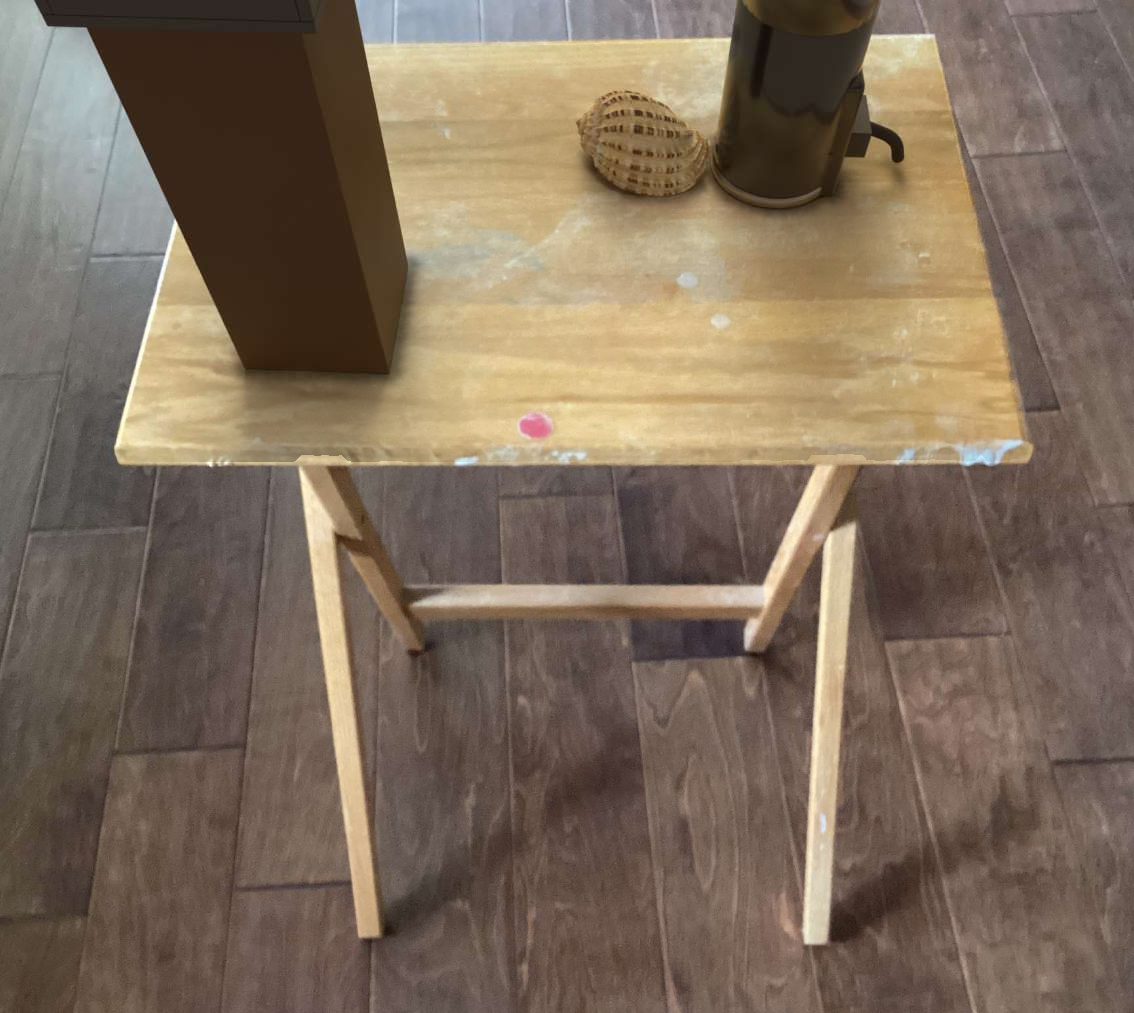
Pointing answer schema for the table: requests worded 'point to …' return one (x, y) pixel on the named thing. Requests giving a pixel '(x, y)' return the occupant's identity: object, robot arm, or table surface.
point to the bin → (265, 166)
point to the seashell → (642, 144)
